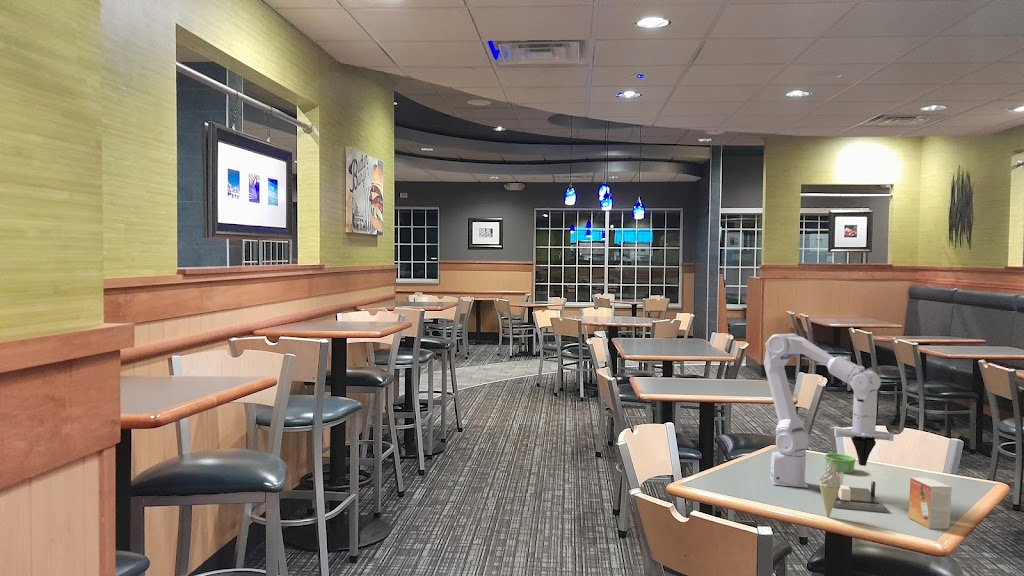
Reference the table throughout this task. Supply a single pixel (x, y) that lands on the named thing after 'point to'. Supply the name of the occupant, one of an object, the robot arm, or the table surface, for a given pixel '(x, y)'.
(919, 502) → the small box
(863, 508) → the console plate
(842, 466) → the ramekin
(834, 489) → the ice cream cone
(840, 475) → the door
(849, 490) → the fader knob
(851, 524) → the table surface
